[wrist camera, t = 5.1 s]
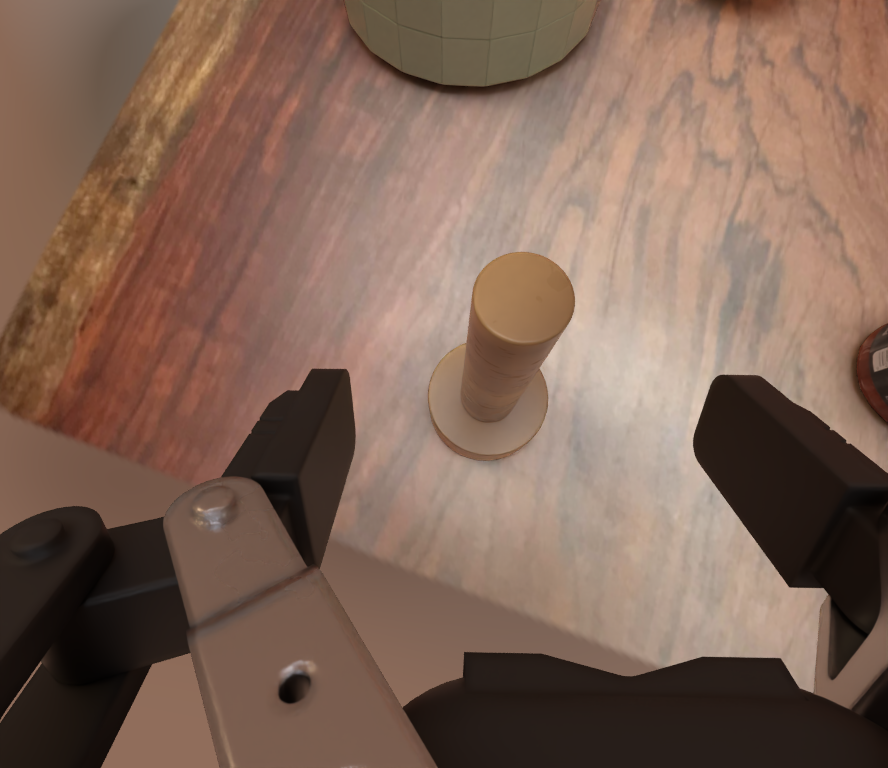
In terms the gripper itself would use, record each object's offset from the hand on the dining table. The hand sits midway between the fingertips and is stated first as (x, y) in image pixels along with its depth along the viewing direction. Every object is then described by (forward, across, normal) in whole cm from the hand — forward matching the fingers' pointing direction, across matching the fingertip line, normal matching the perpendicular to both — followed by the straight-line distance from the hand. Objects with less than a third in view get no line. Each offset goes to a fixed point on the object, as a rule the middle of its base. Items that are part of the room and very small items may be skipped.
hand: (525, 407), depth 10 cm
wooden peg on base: (+10, 0, +6) cm, 11 cm away
